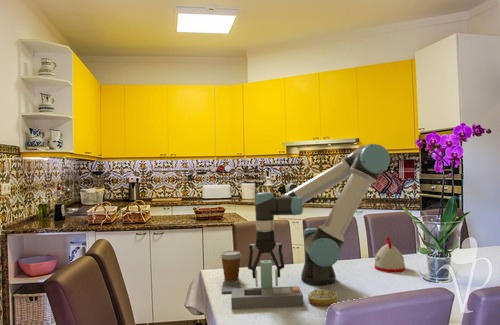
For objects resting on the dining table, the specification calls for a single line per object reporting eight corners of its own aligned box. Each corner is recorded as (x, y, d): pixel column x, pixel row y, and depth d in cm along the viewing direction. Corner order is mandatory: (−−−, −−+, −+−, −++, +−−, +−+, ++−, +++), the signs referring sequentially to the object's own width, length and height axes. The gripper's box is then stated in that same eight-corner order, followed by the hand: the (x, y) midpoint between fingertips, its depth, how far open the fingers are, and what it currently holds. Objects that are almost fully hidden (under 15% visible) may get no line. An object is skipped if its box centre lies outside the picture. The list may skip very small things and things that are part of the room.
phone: (239, 284, 159) (239, 281, 159) (238, 294, 146) (238, 291, 146) (223, 285, 159) (223, 282, 159) (221, 295, 146) (221, 292, 146)
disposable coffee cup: (239, 282, 160) (238, 255, 160) (218, 281, 162) (217, 255, 162) (243, 276, 169) (243, 250, 169) (224, 275, 171) (223, 250, 171)
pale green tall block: (271, 288, 150) (270, 259, 150) (272, 292, 146) (271, 262, 146) (261, 289, 150) (260, 260, 150) (261, 293, 145) (260, 263, 146)
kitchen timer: (401, 265, 181) (400, 235, 181) (408, 273, 167) (407, 240, 168) (372, 264, 183) (371, 235, 184) (377, 272, 170) (376, 240, 170)
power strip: (298, 296, 140) (298, 284, 140) (303, 306, 130) (302, 293, 130) (232, 299, 139) (231, 286, 139) (231, 309, 129) (231, 295, 129)
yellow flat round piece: (310, 296, 141) (310, 286, 141) (338, 298, 137) (338, 288, 138) (306, 305, 131) (305, 295, 131) (336, 308, 128) (335, 298, 128)
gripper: (288, 227, 152) (290, 281, 152) (240, 229, 152) (241, 283, 151) (290, 230, 145) (292, 287, 144) (240, 232, 144) (241, 289, 144)
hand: (266, 285), depth 148 cm, fingers open, 8 cm apart
